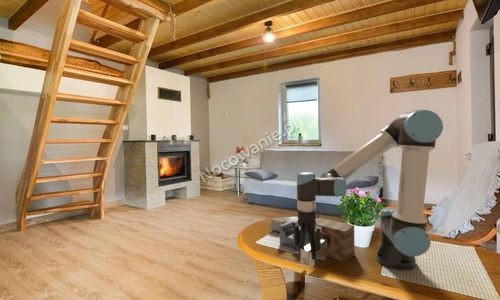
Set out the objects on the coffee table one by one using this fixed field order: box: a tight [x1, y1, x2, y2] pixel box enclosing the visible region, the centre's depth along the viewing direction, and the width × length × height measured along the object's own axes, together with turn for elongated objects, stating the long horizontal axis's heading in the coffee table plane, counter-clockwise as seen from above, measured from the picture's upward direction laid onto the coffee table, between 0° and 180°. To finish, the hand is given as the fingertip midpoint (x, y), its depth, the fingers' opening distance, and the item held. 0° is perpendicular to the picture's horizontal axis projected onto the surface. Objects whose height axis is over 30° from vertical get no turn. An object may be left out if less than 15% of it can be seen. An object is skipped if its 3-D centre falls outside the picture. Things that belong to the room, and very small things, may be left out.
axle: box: [300, 238, 327, 260], centre depth 113 cm, size 4×16×4 cm, turn 135°
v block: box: [279, 220, 309, 251], centre depth 135 cm, size 12×10×10 cm
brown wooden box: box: [309, 217, 355, 263], centre depth 124 cm, size 18×10×14 cm, turn 46°
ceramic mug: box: [269, 217, 287, 233], centre depth 155 cm, size 11×8×8 cm
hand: (307, 264), depth 109 cm, fingers closed on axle, 3 cm apart
